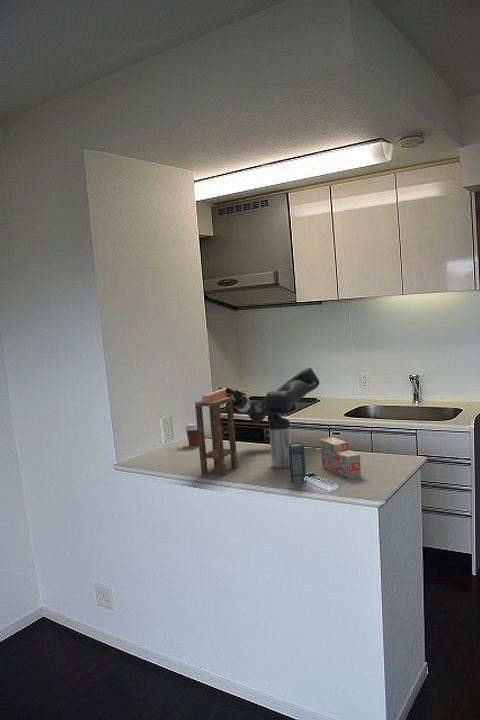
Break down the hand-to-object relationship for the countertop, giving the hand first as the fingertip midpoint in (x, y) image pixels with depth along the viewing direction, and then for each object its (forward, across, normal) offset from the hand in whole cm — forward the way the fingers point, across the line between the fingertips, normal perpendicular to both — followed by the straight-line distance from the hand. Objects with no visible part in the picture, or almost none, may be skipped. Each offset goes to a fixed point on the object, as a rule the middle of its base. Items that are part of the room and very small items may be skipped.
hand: (223, 389), depth 254 cm
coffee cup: (-40, +35, -18) cm, 56 cm away
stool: (-10, 0, -35) cm, 36 cm away
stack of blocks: (-20, -52, -29) cm, 62 cm away
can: (-6, -39, -37) cm, 54 cm away
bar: (+3, 0, -5) cm, 6 cm away
